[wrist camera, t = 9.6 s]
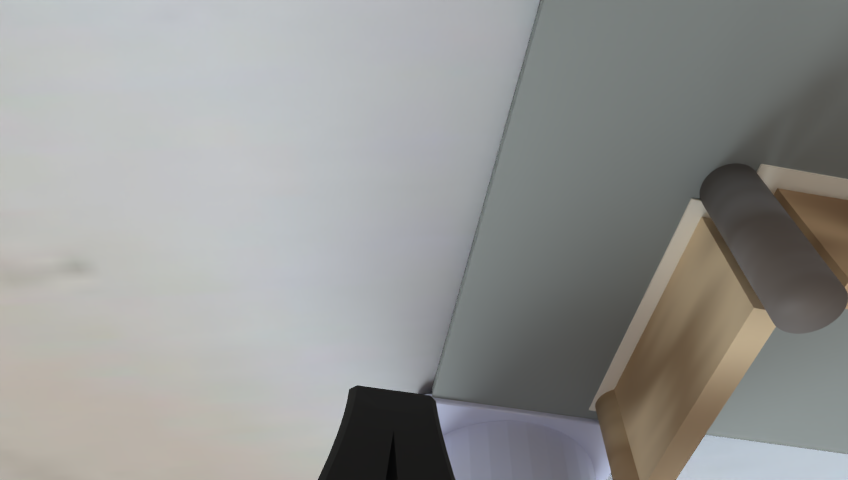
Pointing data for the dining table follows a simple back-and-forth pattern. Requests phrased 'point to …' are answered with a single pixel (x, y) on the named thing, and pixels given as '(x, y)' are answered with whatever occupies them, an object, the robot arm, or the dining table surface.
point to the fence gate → (821, 226)
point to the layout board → (648, 201)
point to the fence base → (714, 324)
